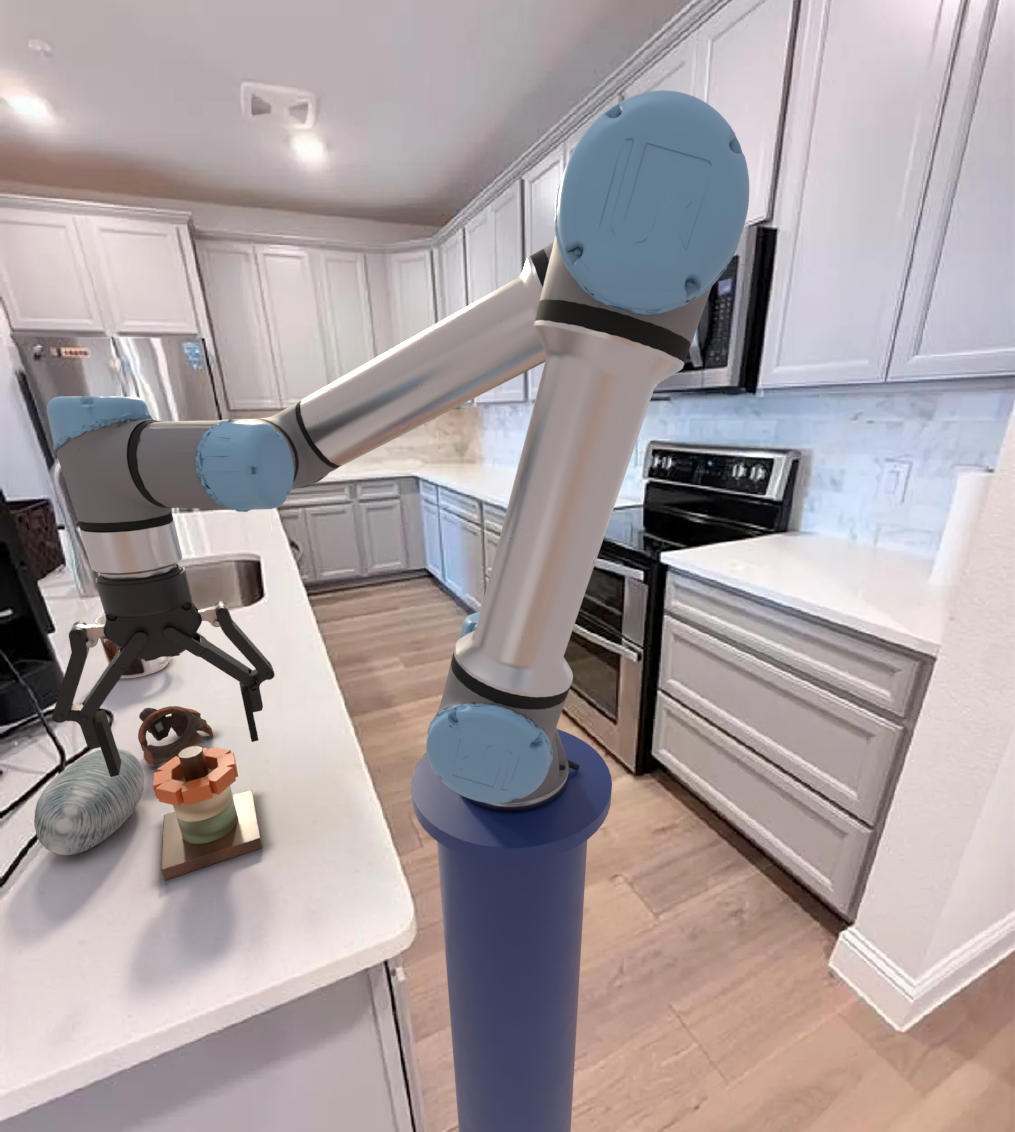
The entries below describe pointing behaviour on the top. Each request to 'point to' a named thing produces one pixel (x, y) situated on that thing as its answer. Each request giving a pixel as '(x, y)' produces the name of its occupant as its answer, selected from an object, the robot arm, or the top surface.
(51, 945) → the top surface
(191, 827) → the stacking post
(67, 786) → the streaked grey ellipsoid
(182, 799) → the terracotta ring
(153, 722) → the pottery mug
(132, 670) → the mug
